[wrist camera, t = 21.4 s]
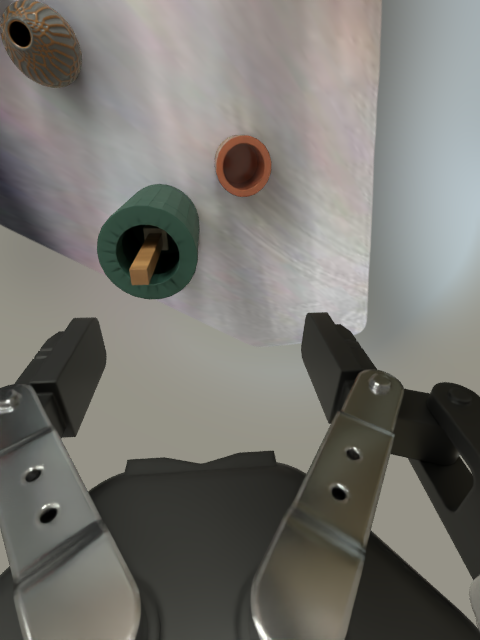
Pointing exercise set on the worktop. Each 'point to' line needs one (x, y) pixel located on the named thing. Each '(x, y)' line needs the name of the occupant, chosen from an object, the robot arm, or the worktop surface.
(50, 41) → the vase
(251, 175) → the cup
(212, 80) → the worktop surface
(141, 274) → the brush
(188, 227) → the green tube sleeve
